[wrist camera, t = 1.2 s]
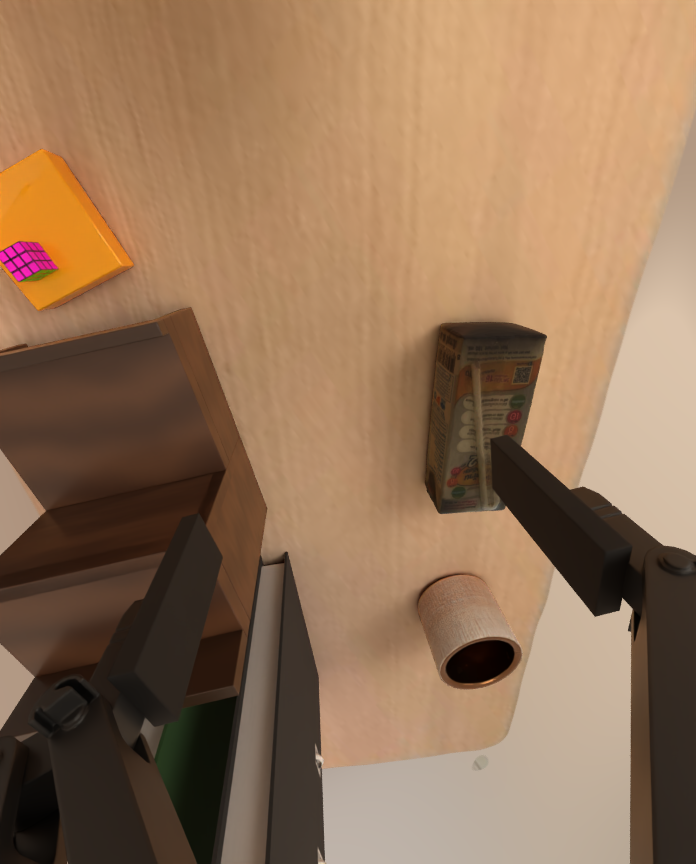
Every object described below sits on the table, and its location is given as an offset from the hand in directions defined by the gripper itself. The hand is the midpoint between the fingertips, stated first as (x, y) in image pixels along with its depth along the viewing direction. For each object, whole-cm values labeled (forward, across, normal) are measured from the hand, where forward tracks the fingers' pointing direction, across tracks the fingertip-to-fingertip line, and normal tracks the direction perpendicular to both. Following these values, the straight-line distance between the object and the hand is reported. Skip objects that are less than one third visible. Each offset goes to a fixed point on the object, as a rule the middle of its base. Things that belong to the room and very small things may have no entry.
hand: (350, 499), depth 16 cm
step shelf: (+22, -19, -3) cm, 29 cm away
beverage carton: (+22, +13, -9) cm, 27 cm away
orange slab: (+22, -18, +15) cm, 32 cm away
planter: (+21, +9, -39) cm, 45 cm away
